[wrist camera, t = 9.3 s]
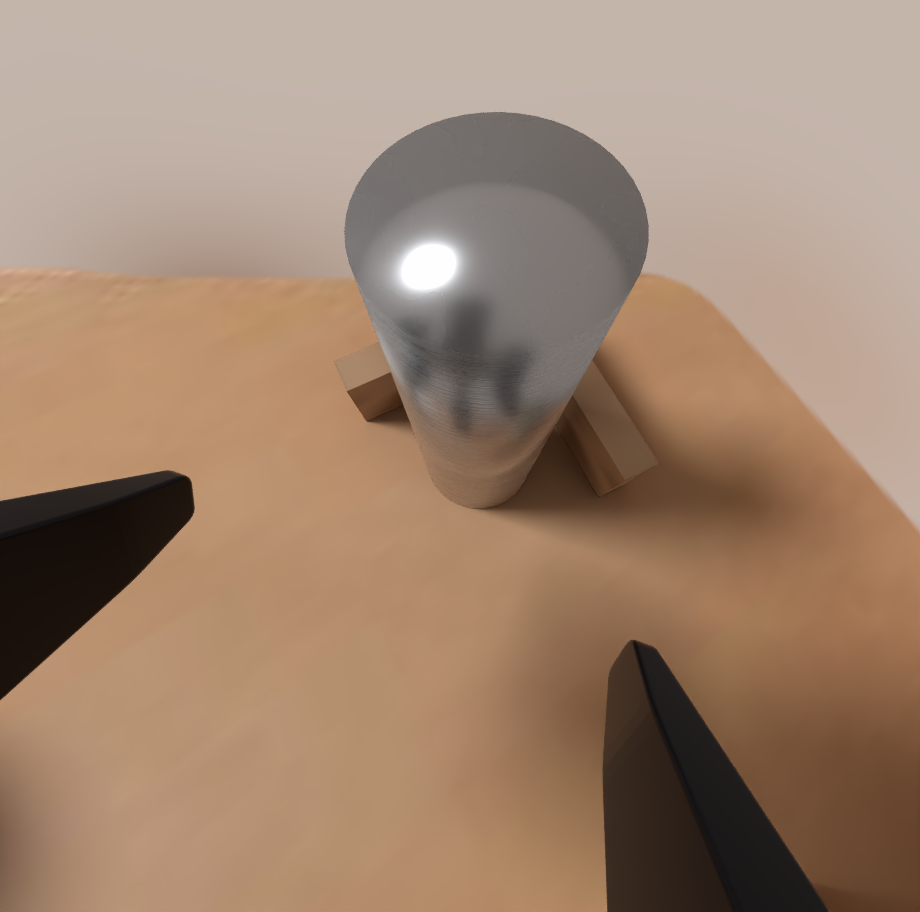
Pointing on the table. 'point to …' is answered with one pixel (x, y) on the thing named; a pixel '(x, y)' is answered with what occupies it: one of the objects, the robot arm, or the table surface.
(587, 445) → the v cradle
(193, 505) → the robot arm
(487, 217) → the grey metallic tall cylinder
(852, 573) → the table surface
